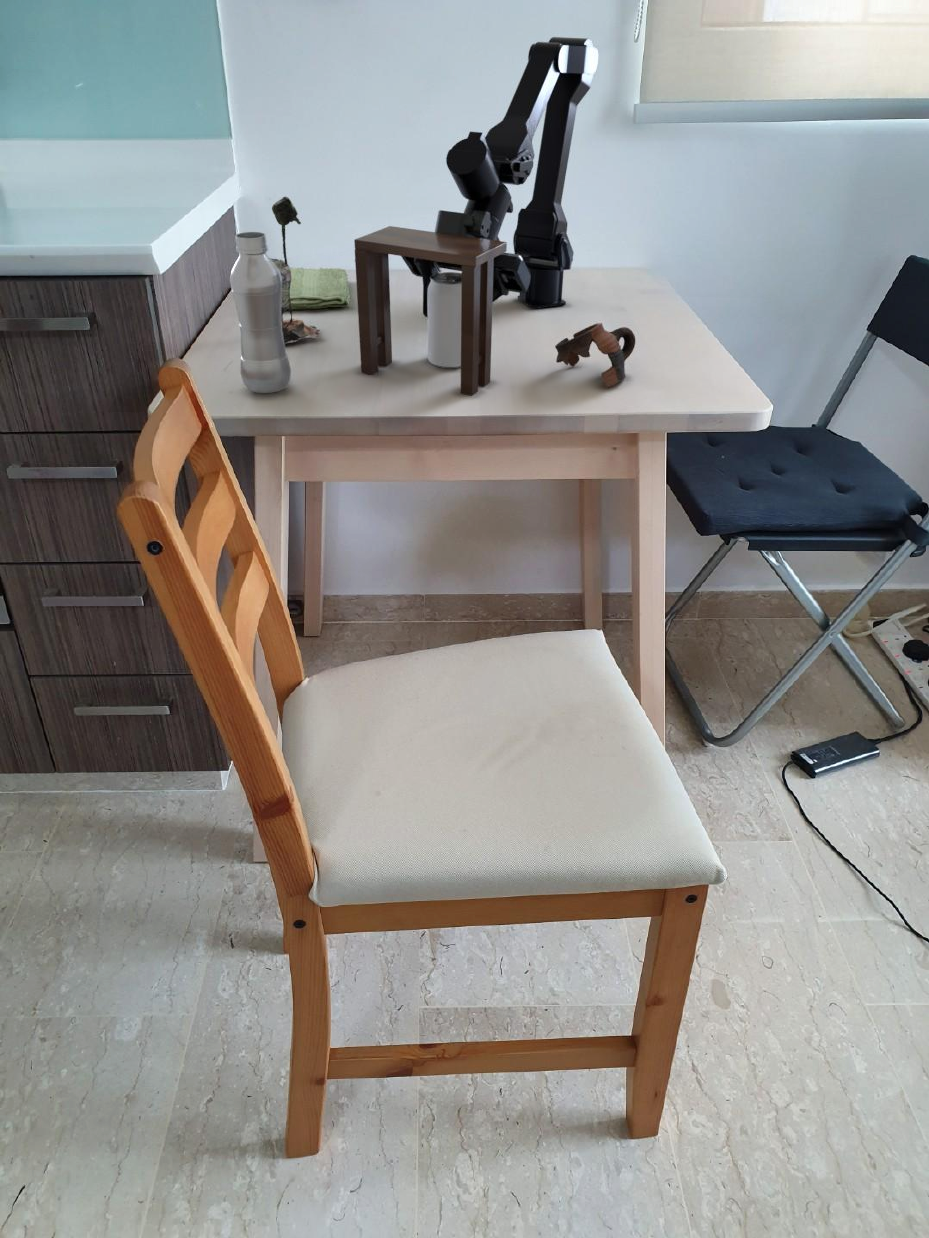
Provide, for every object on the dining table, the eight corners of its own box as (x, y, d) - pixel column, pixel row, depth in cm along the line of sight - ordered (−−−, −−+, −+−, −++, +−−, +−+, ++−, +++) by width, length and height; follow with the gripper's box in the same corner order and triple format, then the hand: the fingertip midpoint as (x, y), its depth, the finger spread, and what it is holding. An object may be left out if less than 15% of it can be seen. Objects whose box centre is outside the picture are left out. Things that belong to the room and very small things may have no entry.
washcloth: (271, 312, 154) (269, 293, 152) (279, 282, 168) (277, 264, 166) (351, 311, 155) (349, 291, 153) (351, 281, 169) (350, 263, 167)
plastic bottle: (245, 381, 128) (225, 229, 117) (294, 380, 129) (279, 229, 117) (240, 399, 123) (219, 241, 112) (291, 398, 124) (275, 241, 112)
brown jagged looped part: (595, 398, 126) (571, 341, 124) (560, 405, 135) (536, 352, 132) (659, 359, 130) (637, 304, 127) (621, 369, 138) (599, 317, 136)
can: (467, 371, 133) (468, 285, 126) (423, 367, 134) (422, 282, 127) (475, 356, 138) (477, 273, 131) (433, 352, 139) (433, 270, 132)
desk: (394, 353, 138) (389, 226, 128) (502, 374, 132) (506, 242, 121) (360, 372, 132) (353, 240, 121) (472, 396, 125) (475, 257, 115)
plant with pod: (250, 330, 146) (233, 194, 135) (322, 329, 147) (311, 193, 135) (244, 348, 140) (225, 206, 128) (319, 346, 140) (308, 205, 129)
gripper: (404, 178, 129) (365, 278, 127) (526, 192, 122) (487, 298, 120) (432, 226, 139) (397, 320, 137) (546, 242, 132) (510, 340, 130)
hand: (445, 319), depth 131 cm, fingers closed on can, 6 cm apart
